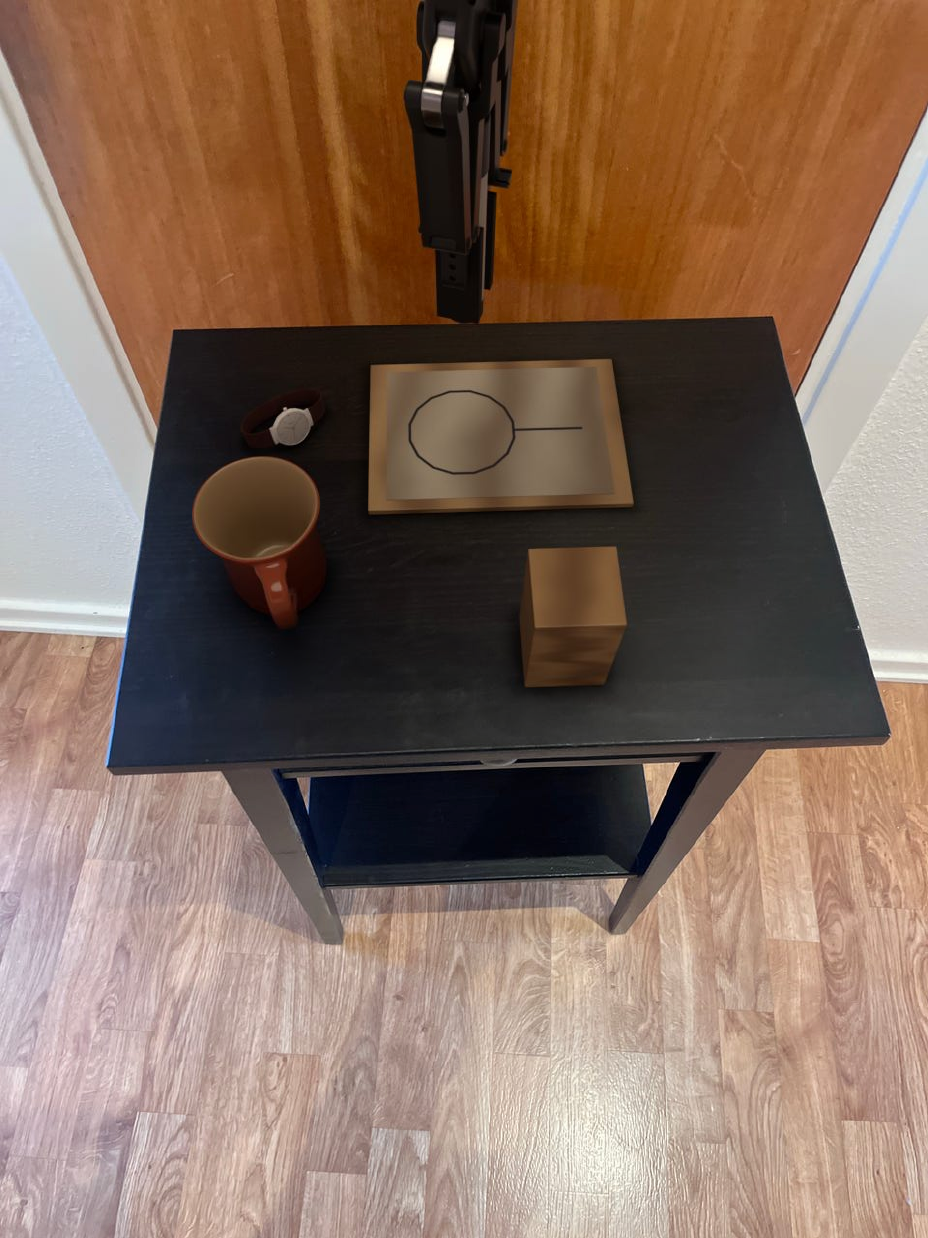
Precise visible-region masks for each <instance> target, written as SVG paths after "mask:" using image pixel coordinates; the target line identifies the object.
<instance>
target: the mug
mask: <svg viewBox="0 0 928 1238" xmlns="http://www.w3.org/2000/svg"><path fill="white" fill-rule="evenodd" d="M320 506H321V501H320V493H319V490H318V488H317V485H316V483H315V482H314V480H313V478H312V477H311V476H310V475H309V473H307V472H306V471H305V470H304V469H303V468H302V467H300V466H299V465H297V464H296V463H293V462H292V461H289V460H287V459H283V458H279V457H274V456H266V455H264V456H263V455H262V456H250V457H245V458H240V459H237V460H235V461H232V462H230V463H228V464H226V465H223V466H222V467H221V468H219V469H217V470H216V471H215V472H214V473H212V474H211V475H210V476H209V477H208V478H207V479H206V480H205V481H204V482H203V484H202V485H201V487H200V488H199V490H198V491H197V494H196V495H195V498H194V501H193V505H192V510H191V511H192V514H191V516H192V523H193V524H192V525H193V528H194V530H195V533H196V535H197V537H198V538H199V540H200V542H201V543H202V544H203V545H204V546H205V547H206V548H207V549H208V550H210V551H211V552H212V553H213V554H214V555H216V556H218V557H219V558H220V559H221V562H222V564H223V567H224V570H225V572H226V574H227V577H228V579H229V582H230V585H231V586H232V588H233V590H234V592H236V594H237V595H238V596H239V597H240V598H241V599H242V600H243V601H244V602H245V603H246V604H247V605H248V606H249V607H250V608H252V610H255V611H257V612H259V613H261V614H263V615H268V616H271V618H272V620H273V622H274V624H275V625H276V627H277V628H279V629H281V630H286V629H291V628H295V627H296V626H297V625H298V623H299V613H298V612H301V611H302V610H304V609H306V608H308V607H309V606H311V604H312V603H313V602H314V601H315V600H316V599H317V597H318V596H319V595H320V593H321V592H322V590H323V588H324V585H325V581H326V575H327V555H326V551H325V548H324V546H323V543H322V540H321V537H320V533H319V531H318V528H317V523H318V519H319V516H320V511H321V510H320V509H321V508H320Z"/></svg>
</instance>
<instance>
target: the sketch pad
mask: <svg viewBox="0 0 928 1238" xmlns="http://www.w3.org/2000/svg"><path fill="white" fill-rule="evenodd" d="M369 380H370V382H369V385H370V386H369V436H368V437H369V439H368V440H369V441H368V446H369V447H368V494H367V495H368V497H367V498H368V499H367V501H368V502H367V504H368V505H367V511H368V515H369V516H370V515H371V516H372V515H402V514H407V515H408V514H439V513H441V514H442V513H470V512H471V513H472V512H473V513H474V512H476V513H477V512H509V511H510V512H511V511H544V510H545V511H547V510H572V509H573V510H580V509H612V508H613V509H615V508H633V507H634V495H633V490H632V482H631V476H630V471H629V464H628V457H627V450H626V444H625V438H624V432H623V431H624V430H623V425H622V424H623V423H622V420H621V419H622V418H621V412H620V404H619V399H618V391H617V386H616V379H615V373H614V366H613V361H612V358H594V359H558V360H557V359H556V360H519V361H517V360H516V361H515V360H514V361H477V362H476V361H473V362H439V363H438V362H437V363H397V364H371V365H370V379H369Z"/></svg>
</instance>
